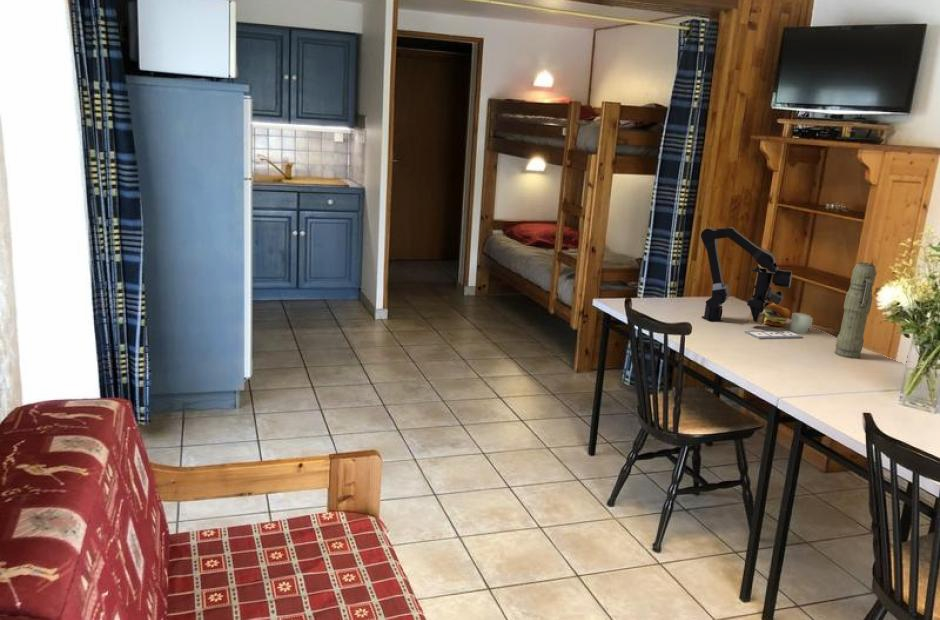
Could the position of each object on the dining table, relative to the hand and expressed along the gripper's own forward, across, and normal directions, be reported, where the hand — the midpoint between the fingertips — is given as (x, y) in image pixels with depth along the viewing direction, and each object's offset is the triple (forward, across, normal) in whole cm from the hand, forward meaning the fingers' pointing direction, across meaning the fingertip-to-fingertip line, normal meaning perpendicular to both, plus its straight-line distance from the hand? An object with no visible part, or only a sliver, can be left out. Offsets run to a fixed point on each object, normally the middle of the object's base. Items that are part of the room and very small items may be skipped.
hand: (756, 320), depth 320 cm
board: (+3, -7, -9) cm, 11 cm away
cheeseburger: (+4, +14, -5) cm, 15 cm away
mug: (+3, +10, -16) cm, 19 cm away
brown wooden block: (+1, 0, 0) cm, 1 cm away
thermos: (+3, -14, -37) cm, 39 cm away
